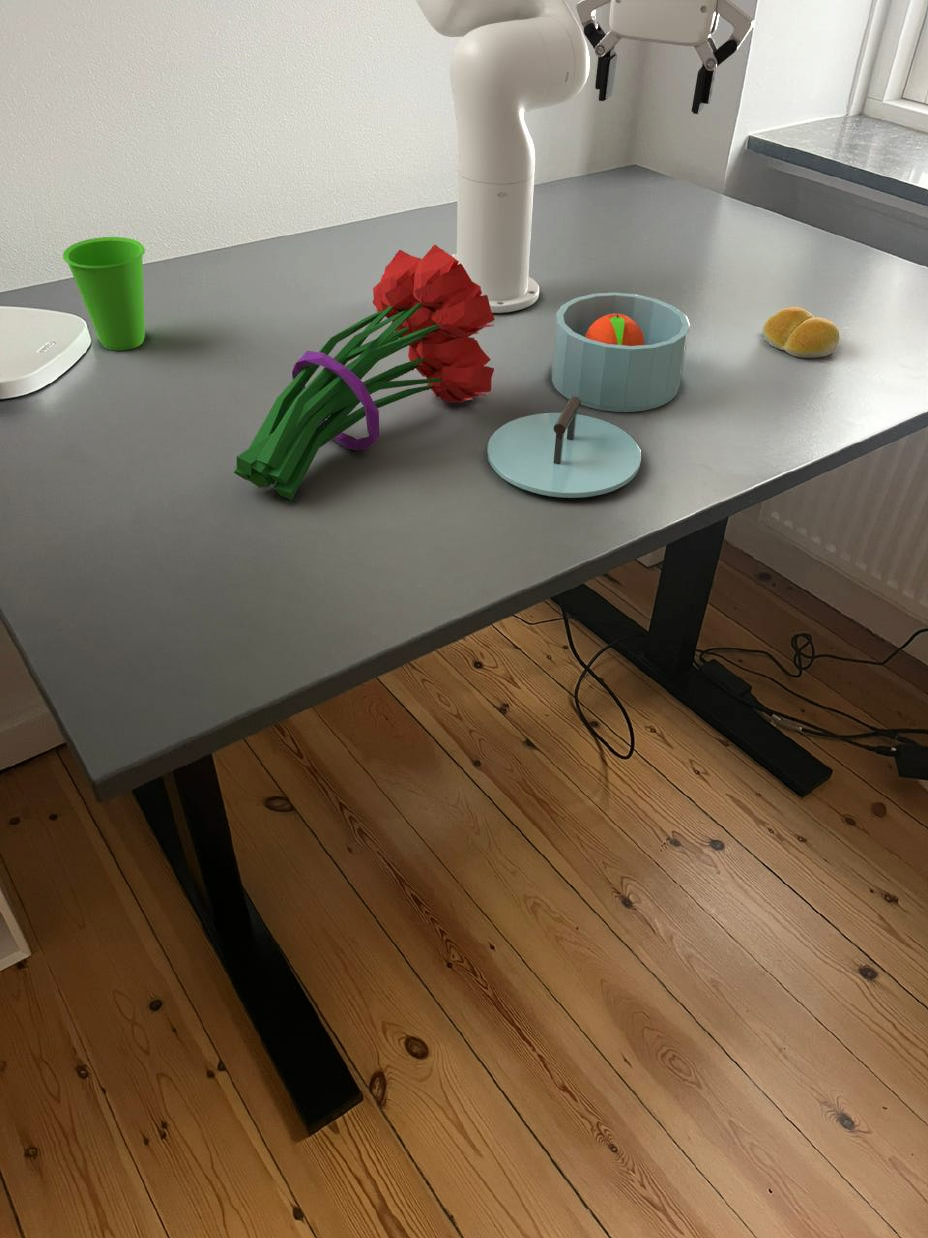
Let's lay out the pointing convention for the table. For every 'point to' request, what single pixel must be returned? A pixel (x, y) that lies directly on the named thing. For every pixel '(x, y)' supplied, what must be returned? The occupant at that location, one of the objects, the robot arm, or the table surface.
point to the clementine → (616, 331)
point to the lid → (564, 454)
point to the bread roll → (801, 333)
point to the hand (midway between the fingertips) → (650, 103)
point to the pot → (619, 353)
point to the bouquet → (438, 348)
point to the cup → (111, 288)
